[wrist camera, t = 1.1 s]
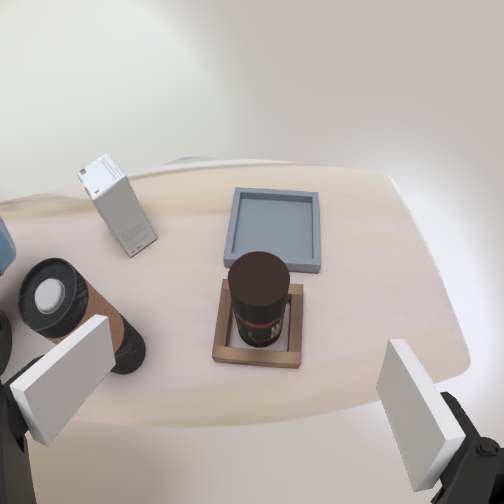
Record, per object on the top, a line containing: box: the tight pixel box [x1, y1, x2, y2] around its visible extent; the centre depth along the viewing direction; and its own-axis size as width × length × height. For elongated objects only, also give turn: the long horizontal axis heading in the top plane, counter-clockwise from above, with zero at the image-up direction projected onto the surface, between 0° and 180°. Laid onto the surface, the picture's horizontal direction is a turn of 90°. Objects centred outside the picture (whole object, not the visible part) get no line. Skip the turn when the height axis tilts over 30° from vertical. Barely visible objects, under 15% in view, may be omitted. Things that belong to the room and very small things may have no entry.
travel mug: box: [18, 258, 145, 374], centre depth 33 cm, size 8×8×20 cm
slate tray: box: [223, 188, 321, 273], centre depth 50 cm, size 14×14×2 cm
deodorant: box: [228, 251, 290, 348], centre depth 37 cm, size 6×6×15 cm
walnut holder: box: [212, 279, 303, 368], centre depth 42 cm, size 11×11×3 cm
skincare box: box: [77, 153, 157, 257], centre depth 46 cm, size 8×6×15 cm
